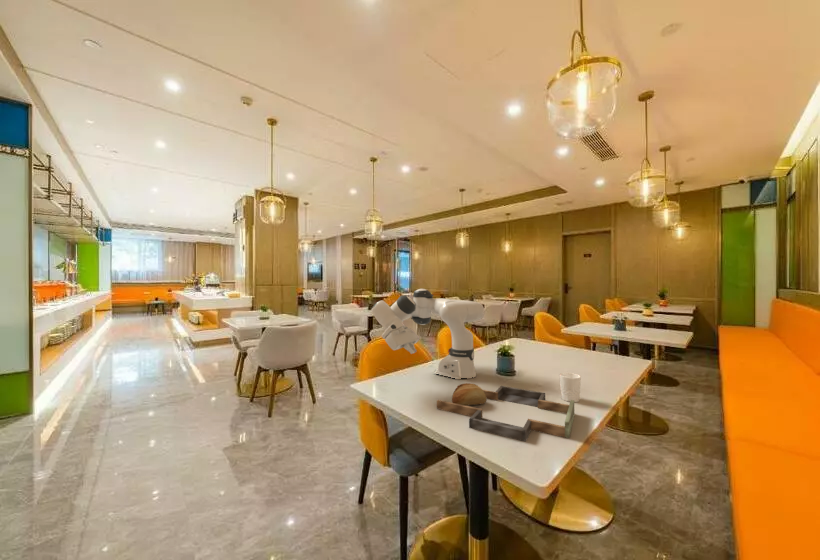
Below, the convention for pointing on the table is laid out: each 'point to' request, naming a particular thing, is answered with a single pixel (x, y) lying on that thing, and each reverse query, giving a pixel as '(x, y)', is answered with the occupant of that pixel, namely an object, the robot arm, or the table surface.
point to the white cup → (570, 386)
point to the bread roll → (468, 395)
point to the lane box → (521, 398)
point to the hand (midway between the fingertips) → (414, 352)
